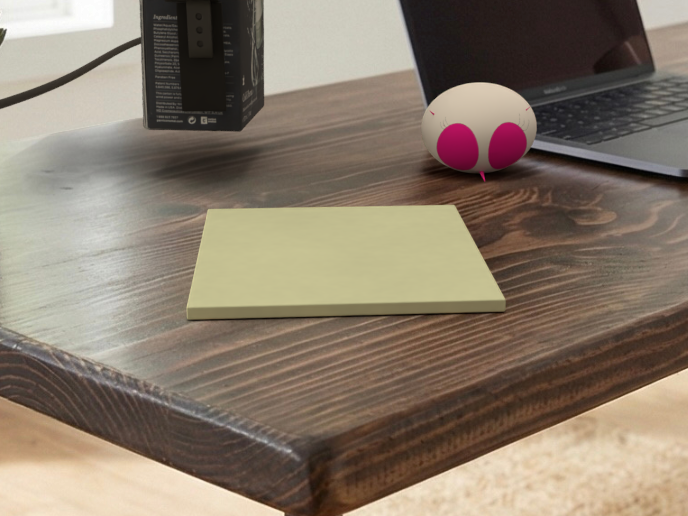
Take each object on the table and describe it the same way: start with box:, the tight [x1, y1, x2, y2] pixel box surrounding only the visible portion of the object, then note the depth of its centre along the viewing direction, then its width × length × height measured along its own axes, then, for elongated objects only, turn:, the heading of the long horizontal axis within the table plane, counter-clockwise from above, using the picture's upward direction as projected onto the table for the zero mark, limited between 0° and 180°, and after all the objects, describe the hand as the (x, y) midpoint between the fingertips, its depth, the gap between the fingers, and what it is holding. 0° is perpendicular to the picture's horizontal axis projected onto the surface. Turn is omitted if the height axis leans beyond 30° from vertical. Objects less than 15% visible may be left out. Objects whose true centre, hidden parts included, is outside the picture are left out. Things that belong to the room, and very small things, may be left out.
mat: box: [185, 204, 507, 321], centre depth 65 cm, size 18×14×1 cm
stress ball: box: [420, 81, 538, 182], centre depth 85 cm, size 8×8×7 cm
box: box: [138, 0, 265, 133], centre depth 85 cm, size 11×7×10 cm, turn 179°
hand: (208, 95), depth 86 cm, fingers closed on box, 11 cm apart
